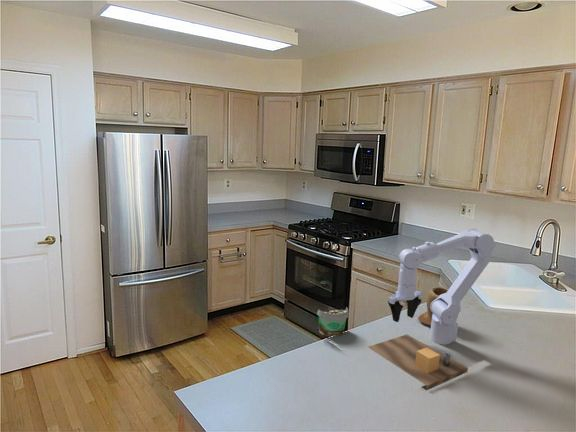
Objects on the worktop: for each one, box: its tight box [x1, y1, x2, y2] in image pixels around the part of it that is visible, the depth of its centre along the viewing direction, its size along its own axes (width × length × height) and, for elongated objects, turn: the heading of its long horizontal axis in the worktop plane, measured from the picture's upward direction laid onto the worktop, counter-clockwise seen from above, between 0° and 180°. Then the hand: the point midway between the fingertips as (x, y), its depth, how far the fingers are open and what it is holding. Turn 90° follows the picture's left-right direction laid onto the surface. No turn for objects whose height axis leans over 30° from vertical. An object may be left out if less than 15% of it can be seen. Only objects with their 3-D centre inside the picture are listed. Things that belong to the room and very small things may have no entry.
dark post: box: [443, 353, 451, 367], centre depth 125 cm, size 2×2×5 cm
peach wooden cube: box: [415, 348, 440, 373], centre depth 123 cm, size 5×5×5 cm
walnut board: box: [367, 334, 469, 391], centre depth 130 cm, size 20×25×2 cm
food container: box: [316, 306, 350, 340], centre depth 143 cm, size 12×6×10 cm, turn 105°
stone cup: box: [417, 286, 449, 327], centre depth 159 cm, size 15×12×15 cm
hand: (403, 318), depth 140 cm, fingers open, 7 cm apart
